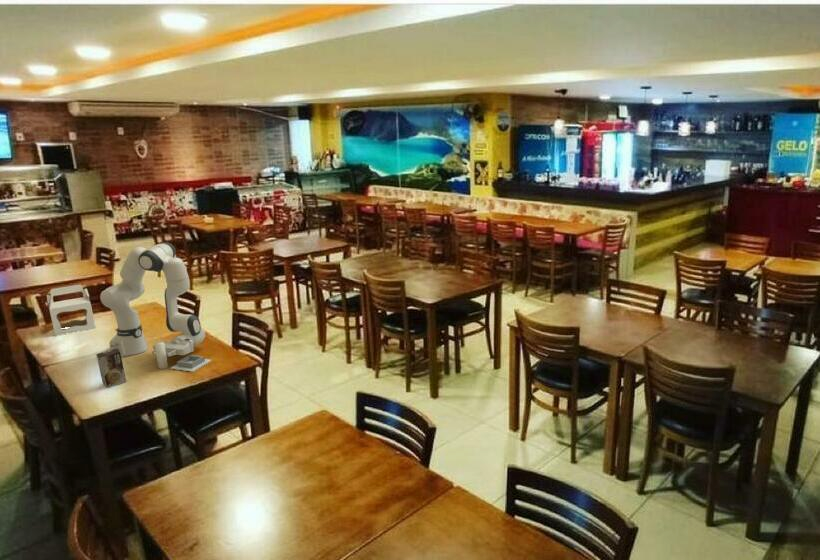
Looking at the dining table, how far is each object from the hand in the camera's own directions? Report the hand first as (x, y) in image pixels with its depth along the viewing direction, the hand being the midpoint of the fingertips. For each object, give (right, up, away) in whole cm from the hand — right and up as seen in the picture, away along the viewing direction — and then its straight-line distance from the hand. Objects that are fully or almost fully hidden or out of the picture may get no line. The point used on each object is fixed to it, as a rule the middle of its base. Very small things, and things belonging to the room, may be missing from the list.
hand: (160, 354), depth 283 cm
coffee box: (-16, -13, -14) cm, 25 cm away
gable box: (-83, +6, +66) cm, 106 cm away
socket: (+15, -6, +3) cm, 16 cm away
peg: (+1, -7, +2) cm, 8 cm away
